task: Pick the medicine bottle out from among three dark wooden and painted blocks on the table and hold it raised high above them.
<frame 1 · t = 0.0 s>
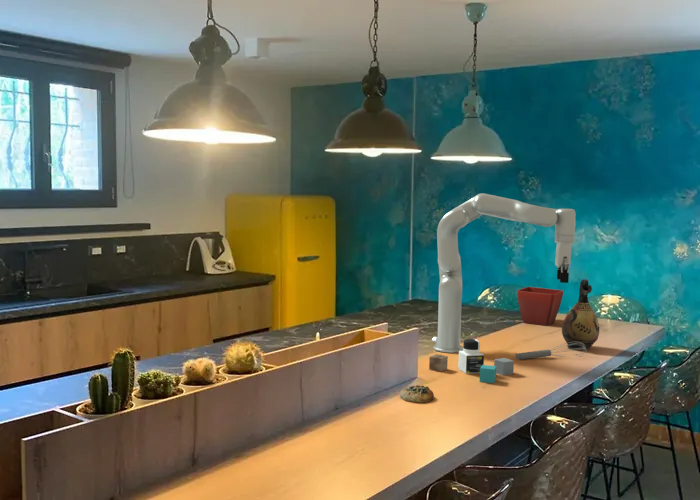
hand: (562, 281, 279), 31 cm above the counter, tool pointing down, fingers open, 9 cm apart
medicine bottle: (470, 371, 256), on the counter
walnut block: (438, 369, 258), on the counter
plant pot: (539, 323, 353), on the counter
ceramic jug: (579, 348, 298), on the counter
bread roll: (416, 399, 222), on the counter
kitchen whisk: (550, 358, 279), on the counter
slate grey block: (503, 373, 254), on the counter
deep teal block: (487, 380, 243), on the counter
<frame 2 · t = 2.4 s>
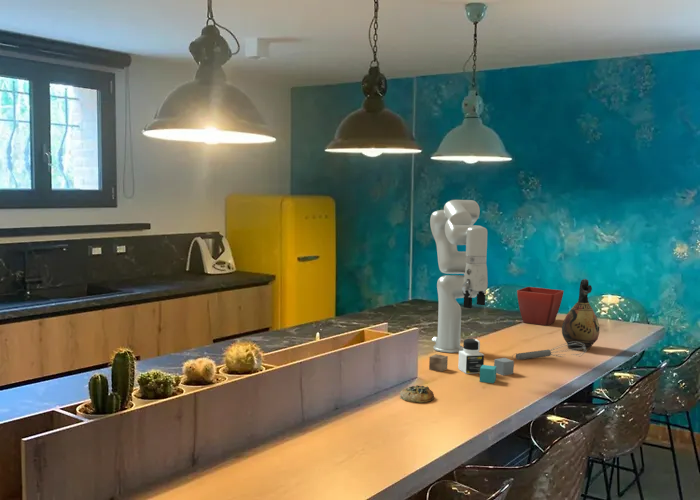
hand: (474, 306, 254), 25 cm above the counter, tool pointing down, fingers open, 9 cm apart
nothing on the counter moved.
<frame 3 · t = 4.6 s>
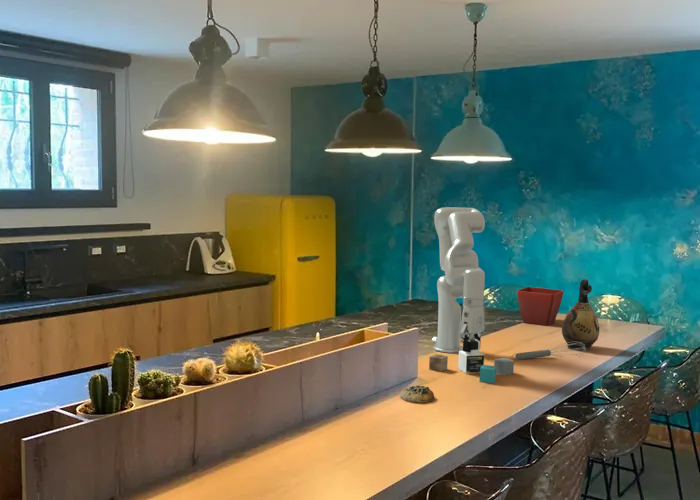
hand: (471, 349, 255), 8 cm above the counter, tool pointing down, fingers closed on medicine bottle, 6 cm apart
medicine bottle: (470, 371, 256), on the counter, touching gripper
everything else where it was.
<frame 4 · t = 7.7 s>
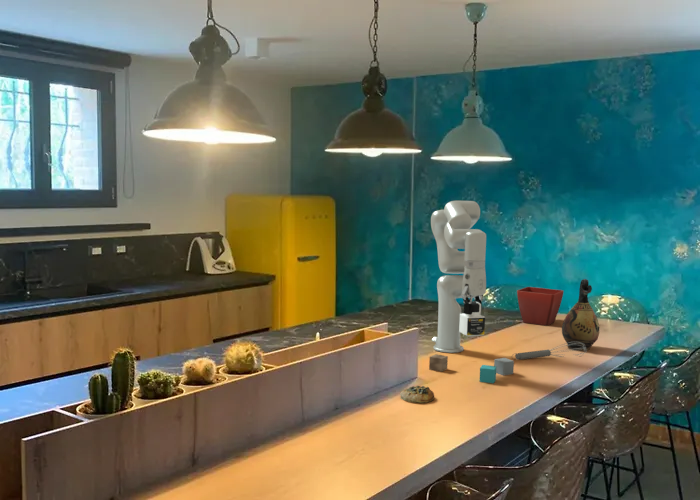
hand: (472, 312, 254), 22 cm above the counter, tool pointing down, fingers closed on medicine bottle, 6 cm apart
medicine bottle: (471, 334, 255), point 14 cm above the counter, touching gripper
everything else where it was.
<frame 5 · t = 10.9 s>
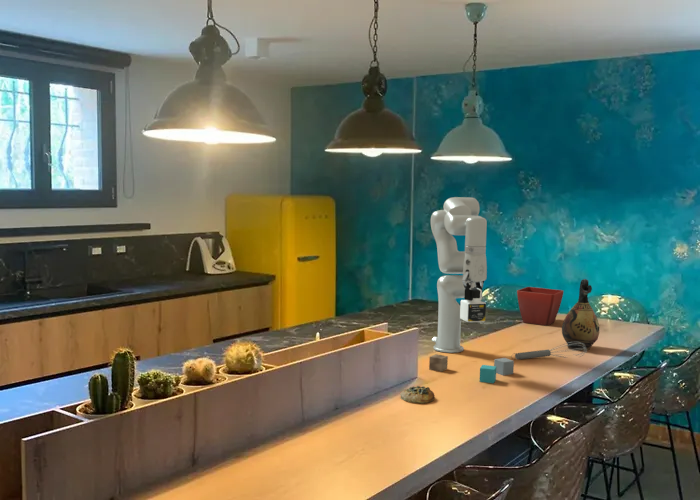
hand: (473, 298, 253), 27 cm above the counter, tool pointing down, fingers closed on medicine bottle, 6 cm apart
medicine bottle: (472, 320, 254), point 19 cm above the counter, touching gripper
everything else where it was.
at the end: the gripper is holding medicine bottle; medicine bottle point 19.0 cm above the counter; deep teal block moved 0.1 cm from its start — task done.
